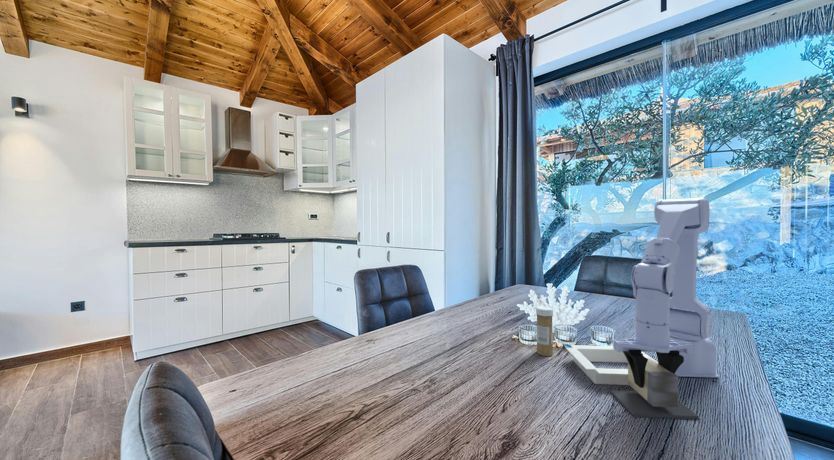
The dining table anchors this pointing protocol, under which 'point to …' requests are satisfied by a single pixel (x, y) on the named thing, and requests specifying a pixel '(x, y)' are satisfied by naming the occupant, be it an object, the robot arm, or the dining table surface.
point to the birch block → (657, 385)
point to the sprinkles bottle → (544, 330)
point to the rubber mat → (650, 407)
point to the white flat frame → (601, 354)
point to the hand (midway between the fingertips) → (651, 385)
